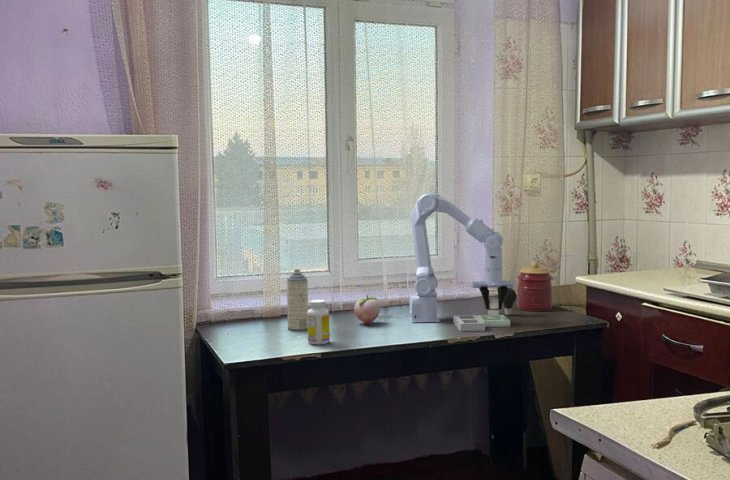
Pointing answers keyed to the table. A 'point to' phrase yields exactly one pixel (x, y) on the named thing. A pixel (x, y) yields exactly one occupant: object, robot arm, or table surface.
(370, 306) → the decorative fruit
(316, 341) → the supplement bottle
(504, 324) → the parts tray
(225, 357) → the table surface
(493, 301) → the fuse
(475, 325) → the gray rectangular frame
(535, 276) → the canister
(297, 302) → the aerosol can
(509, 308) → the light bulb
